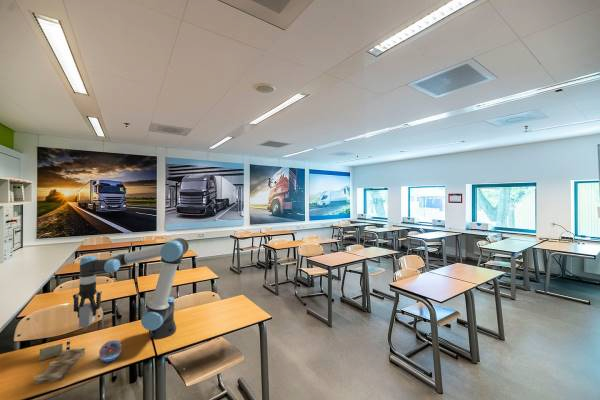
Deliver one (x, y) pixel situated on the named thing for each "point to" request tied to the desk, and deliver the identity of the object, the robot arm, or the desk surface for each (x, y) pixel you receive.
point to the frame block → (85, 315)
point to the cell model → (110, 350)
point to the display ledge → (60, 366)
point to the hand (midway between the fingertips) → (87, 321)
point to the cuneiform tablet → (52, 351)
